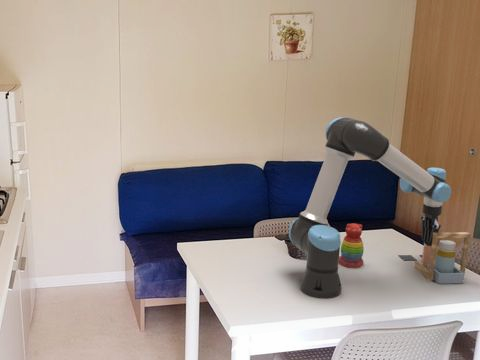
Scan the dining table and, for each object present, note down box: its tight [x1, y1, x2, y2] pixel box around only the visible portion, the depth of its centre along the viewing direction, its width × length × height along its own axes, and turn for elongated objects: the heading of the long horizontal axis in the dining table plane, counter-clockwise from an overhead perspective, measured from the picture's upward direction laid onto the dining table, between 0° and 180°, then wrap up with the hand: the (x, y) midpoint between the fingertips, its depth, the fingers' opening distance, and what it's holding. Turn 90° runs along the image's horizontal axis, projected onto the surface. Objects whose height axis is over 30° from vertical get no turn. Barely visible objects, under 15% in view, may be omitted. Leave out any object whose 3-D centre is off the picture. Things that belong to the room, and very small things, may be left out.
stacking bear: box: [338, 222, 365, 269], centre depth 229 cm, size 11×10×18 cm
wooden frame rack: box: [413, 231, 472, 282], centre depth 222 cm, size 15×14×20 cm
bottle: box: [435, 239, 457, 273], centre depth 218 cm, size 7×7×15 cm
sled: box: [420, 245, 465, 284], centre depth 222 cm, size 10×18×9 cm, turn 8°
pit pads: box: [398, 254, 423, 262], centre depth 241 cm, size 16×6×1 cm, turn 98°
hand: (426, 257), depth 234 cm, fingers closed
